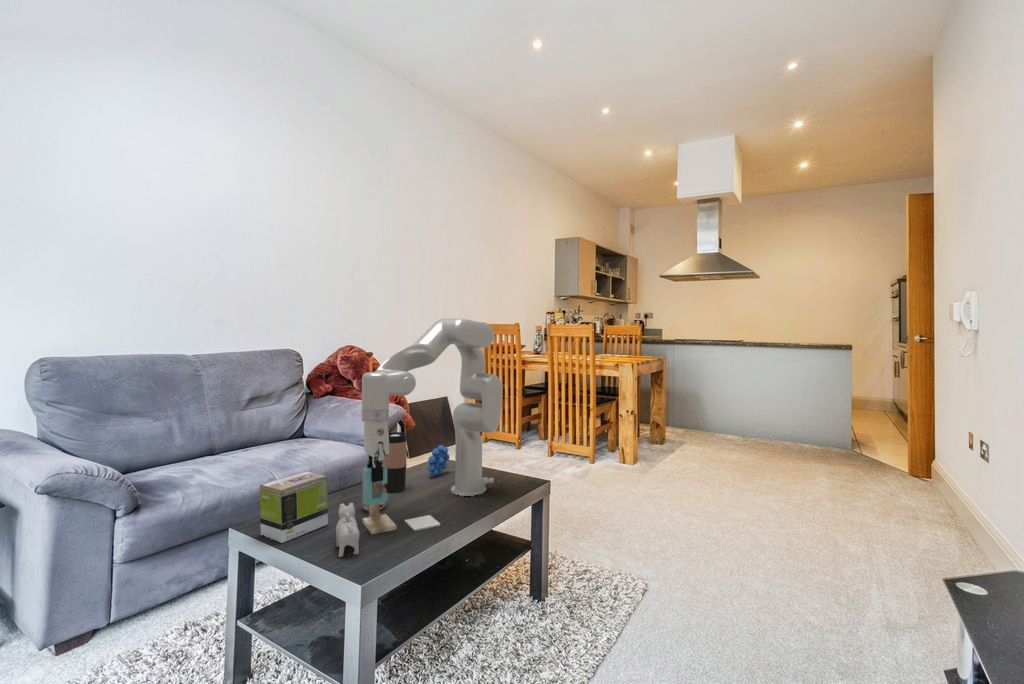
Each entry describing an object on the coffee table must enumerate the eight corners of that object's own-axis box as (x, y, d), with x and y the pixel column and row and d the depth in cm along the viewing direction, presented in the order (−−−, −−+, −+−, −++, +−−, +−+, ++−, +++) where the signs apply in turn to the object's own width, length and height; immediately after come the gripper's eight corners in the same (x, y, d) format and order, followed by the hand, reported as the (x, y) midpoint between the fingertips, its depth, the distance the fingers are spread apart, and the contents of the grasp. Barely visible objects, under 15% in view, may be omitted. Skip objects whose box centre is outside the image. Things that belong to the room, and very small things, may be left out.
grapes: (440, 470, 199) (440, 441, 199) (453, 473, 195) (453, 443, 195) (420, 477, 190) (420, 446, 190) (432, 480, 186) (433, 449, 186)
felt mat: (429, 516, 149) (429, 515, 149) (440, 525, 142) (440, 523, 142) (404, 521, 145) (404, 520, 145) (414, 531, 138) (414, 529, 138)
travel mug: (380, 489, 175) (380, 433, 174) (399, 484, 180) (399, 431, 179) (390, 494, 169) (390, 437, 169) (409, 489, 174) (410, 434, 174)
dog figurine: (354, 536, 134) (354, 498, 134) (361, 555, 123) (361, 513, 123) (333, 539, 132) (333, 500, 132) (339, 559, 120) (339, 516, 120)
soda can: (378, 513, 151) (378, 472, 151) (357, 511, 153) (357, 470, 152) (388, 505, 158) (389, 466, 158) (368, 503, 160) (368, 464, 159)
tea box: (306, 518, 147) (306, 470, 146) (328, 525, 142) (328, 475, 141) (258, 536, 134) (259, 482, 133) (281, 544, 129) (281, 489, 128)
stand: (385, 517, 148) (385, 477, 148) (396, 529, 139) (396, 486, 139) (362, 521, 144) (362, 480, 144) (372, 534, 135) (372, 490, 135)
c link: (383, 498, 142) (383, 465, 142) (387, 502, 139) (387, 468, 139) (362, 501, 139) (362, 468, 139) (366, 505, 136) (366, 471, 136)
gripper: (397, 418, 133) (397, 485, 134) (379, 410, 148) (379, 470, 148) (370, 421, 129) (369, 489, 130) (354, 412, 144) (354, 473, 144)
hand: (375, 478), depth 139 cm, fingers closed on c link, 3 cm apart
